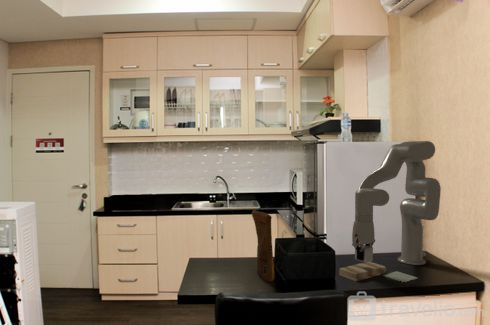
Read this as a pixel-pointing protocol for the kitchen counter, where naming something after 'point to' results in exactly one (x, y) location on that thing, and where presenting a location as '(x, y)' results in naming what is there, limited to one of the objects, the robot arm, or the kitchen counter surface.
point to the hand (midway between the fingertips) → (363, 258)
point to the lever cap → (366, 254)
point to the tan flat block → (362, 271)
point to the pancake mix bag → (264, 245)
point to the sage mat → (400, 276)
